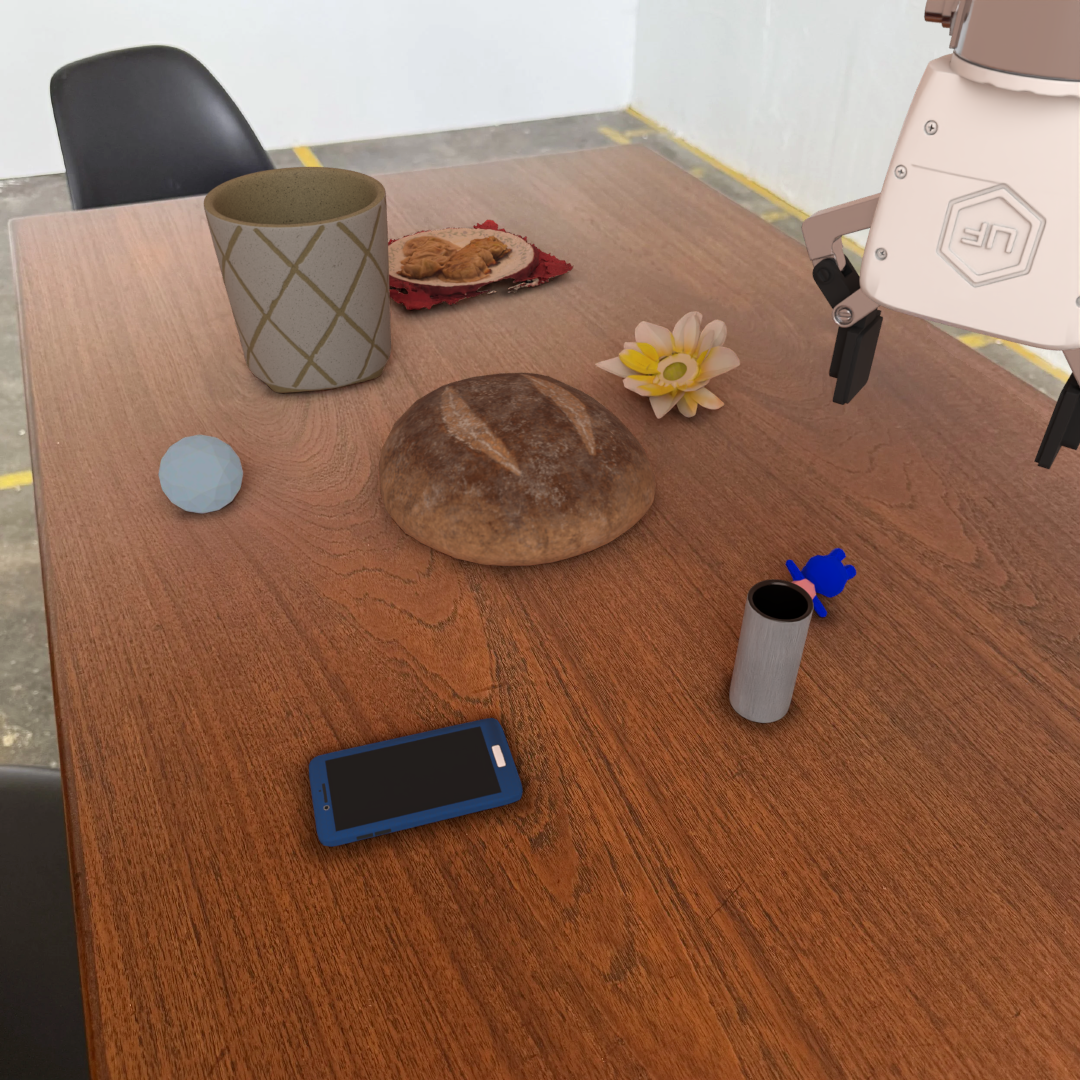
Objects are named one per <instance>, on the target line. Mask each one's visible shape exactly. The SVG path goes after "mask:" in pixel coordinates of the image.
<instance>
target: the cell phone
mask: <svg viewBox="0 0 1080 1080" xmlns="http://www.w3.org/2000/svg"><path fill="white" fill-rule="evenodd" d="M309 761H310V762H309V764H308V778H309V785H310V792H311V799H312V807H313V815H314V821H315V828H316V833H317V834H316V835H317V838H318V841H319V843H320V844H321V845H322V846H325V847H339V846H342V845H346V844H350V843H354V842H359V841H362V840H366V839H367V840H368V839H370V838H375V837H379V836H382V835H383V836H384V835H388V834H391V833H395V832H399V831H404V830H408V829H411V828H416V827H420V826H424V825H429V824H432V823H433V824H434V823H437V822H440V821H444V820H448V819H449V820H450V819H454V818H457V817H461V816H466V815H469V814H473V813H477V812H481V811H486V810H490V809H494V808H498V807H503V806H506V805H509V804H512V803H516V802H518V801H520V800H521V799H522V796H523V791H524V789H523V784H522V780H521V778H520V775H519V772H518V768H517V766H516V763H515V761H514V757H513V755H512V752H511V749H510V747H509V743H508V740H507V737H506V735H505V731H504V728H503V726H502V725H501V723H500V721H499V720H498V719H497V718H494V717H488V718H483V719H477V720H473V721H468V722H464V723H459V724H454V725H449V726H445V727H441V728H436V729H432V730H427V731H423V732H418V733H413V734H409V735H405V736H404V735H403V736H400V737H396V738H395V737H394V738H389V739H385V740H381V741H377V742H372V743H368V744H364V745H359V746H355V747H351V748H345V749H341V750H337V751H332V752H327V753H323V754H320V755H319V754H318V755H317V756H315V757H313V758H312V759H311V760H309Z"/></svg>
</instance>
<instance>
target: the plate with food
mask: <svg viewBox="0 0 1080 1080" xmlns="http://www.w3.org/2000/svg"><path fill="white" fill-rule="evenodd" d="M499 226H500V225H499V224H498V223H496V222H495V220H493V219H486V220H485V221H484V222H483V223H481V224H480V223H479V222H477V223H476V225H473V226H472V227H473V228H471V227H470V228H468V227H455V226H454V227H446V228H442V229H439V230H438V229H434V230H432V229H428V230H423V229H422V230H420V231H416V232H415V233H413V234H407V235H404V236H403V237H402V238H397V239H396V238H395V239H393V238H390V239H388V256H389V295H390V300H393V302H394V303H397V304H400V305H403V306H404V307H405V309H406V310H407V311H412V310H417V311H419V310H422V309H423V308H424V309H427V310H431V308H432V307H433V306H434V305H435V306H436V305H440V304H443V302H444V303H446V304H447V305H450V306H453V305H458V304H457V303H459V302H460V300H461V301H462V300H464V299H470V298H474V297H478V296H480V295H483V294H487V295H488V294H490V295H492V294H493V293H497V290H493V289H492V290H491V289H486V290H479V289H480V288H482V287H484V286H487V285H489V284H492V283H495V282H499V281H502V280H508V279H514V280H513V281H512V283H516V284H515V285H513V286H509V288H507V293H508V294H509V293H511V291H510V290H511V289H514V291H513V293H518V292H517V291H518V289H521V288H530V287H532V288H533V287H535V286H541V285H543V284H545V283H549V282H550V281H549V280H550V279H553V278H556V277H557V276H562V275H564V274H567V273H568V272H571V271H572V270H573V268H574V265H572V263H571V262H568V263H567V261H566V260H565V259H559V258H558V257H557V256H556V255H554V254H553V255H551V254H552V253H551V252H549V253H546V252H545V251H542V250H541V248H538V247H537V246H536V244H535V243H532V242H528V236H527V235H526V236H524V237H523V236H522V235H520V234H516V233H511V232H509V231H506V229H505V227H504V228H499ZM402 289H405V290H406V291H407V293H403V292H401V291H402ZM515 290H516V291H515Z"/></svg>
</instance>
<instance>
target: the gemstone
mask: <svg viewBox="0 0 1080 1080" xmlns="http://www.w3.org/2000/svg"><path fill="white" fill-rule="evenodd" d="M157 475H158V479H159V483H160V487H161V491H162V492H163V493H164V495H165V496H166V497H167V498H168V500H169V501H170V502H171V503H172V504H173V505H175V506H176V507H179V508H180V509H182V510H183V511H186V512H190V513H196V514H206V513H213V512H216V511H220V510H221V509H222V508H224V507H226V506H227V505H229V504H230V503H231V502H233V501H234V499H235V497H236V496H237V494H238V493H239V491H240V490H241V488H242V487H241V486H242V482H243V477H244V470H243V467H242V463H241V459H240V457H239V455H238V454H237V452H236V451H235V450H234V449H233V447H232V446H231V445H230V444H229V443H227V442H225V441H223V440H222V439H220V438H218V437H217V436H210V435H206V434H194V435H190V436H185V437H182V438H181V439H179V440H178V441H176V442H175V443H173V444H171V445H170V446H169V447H168V448H167V450H166V452H165V453H164V454H163V456H162V457H161V459H160V464H159V468H158V474H157Z"/></svg>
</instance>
